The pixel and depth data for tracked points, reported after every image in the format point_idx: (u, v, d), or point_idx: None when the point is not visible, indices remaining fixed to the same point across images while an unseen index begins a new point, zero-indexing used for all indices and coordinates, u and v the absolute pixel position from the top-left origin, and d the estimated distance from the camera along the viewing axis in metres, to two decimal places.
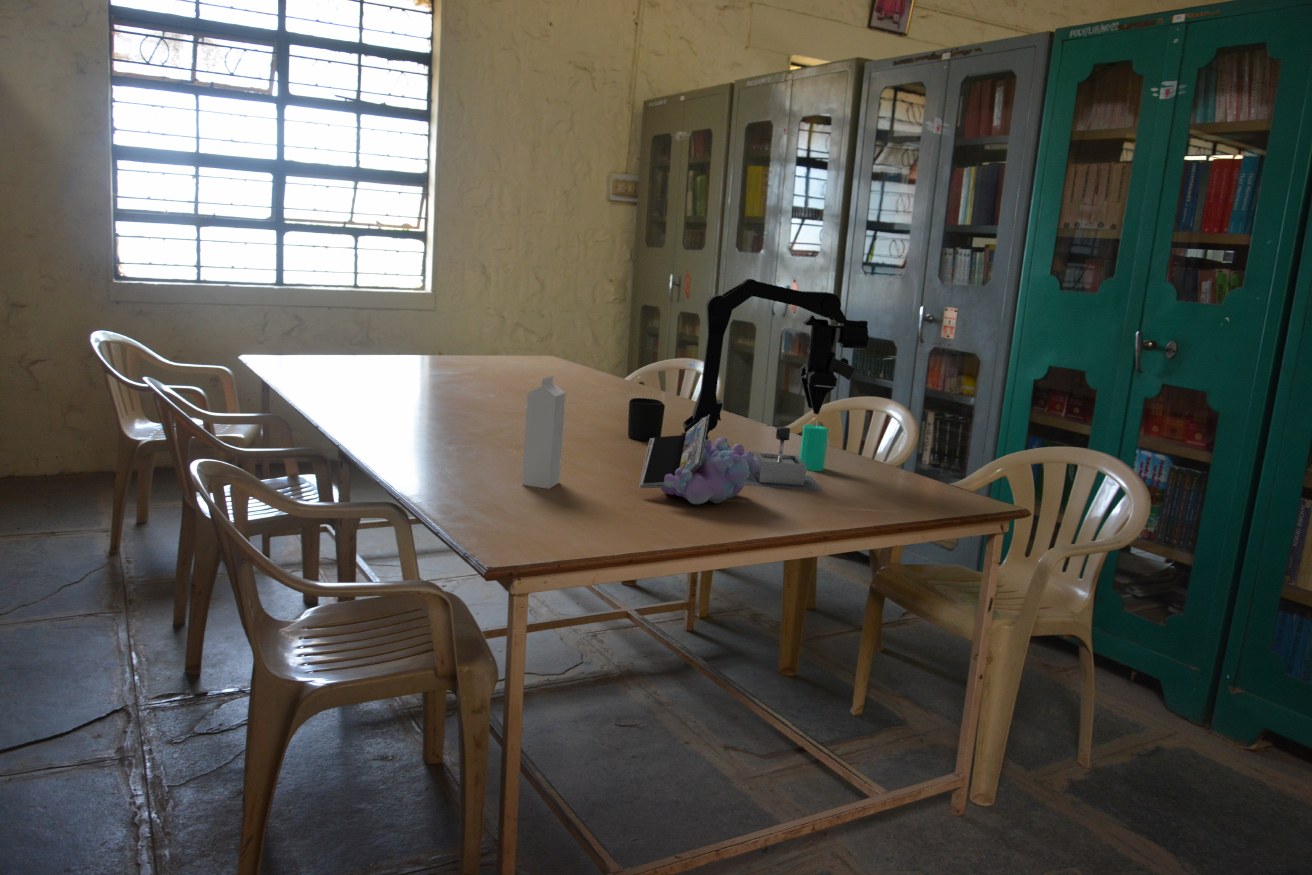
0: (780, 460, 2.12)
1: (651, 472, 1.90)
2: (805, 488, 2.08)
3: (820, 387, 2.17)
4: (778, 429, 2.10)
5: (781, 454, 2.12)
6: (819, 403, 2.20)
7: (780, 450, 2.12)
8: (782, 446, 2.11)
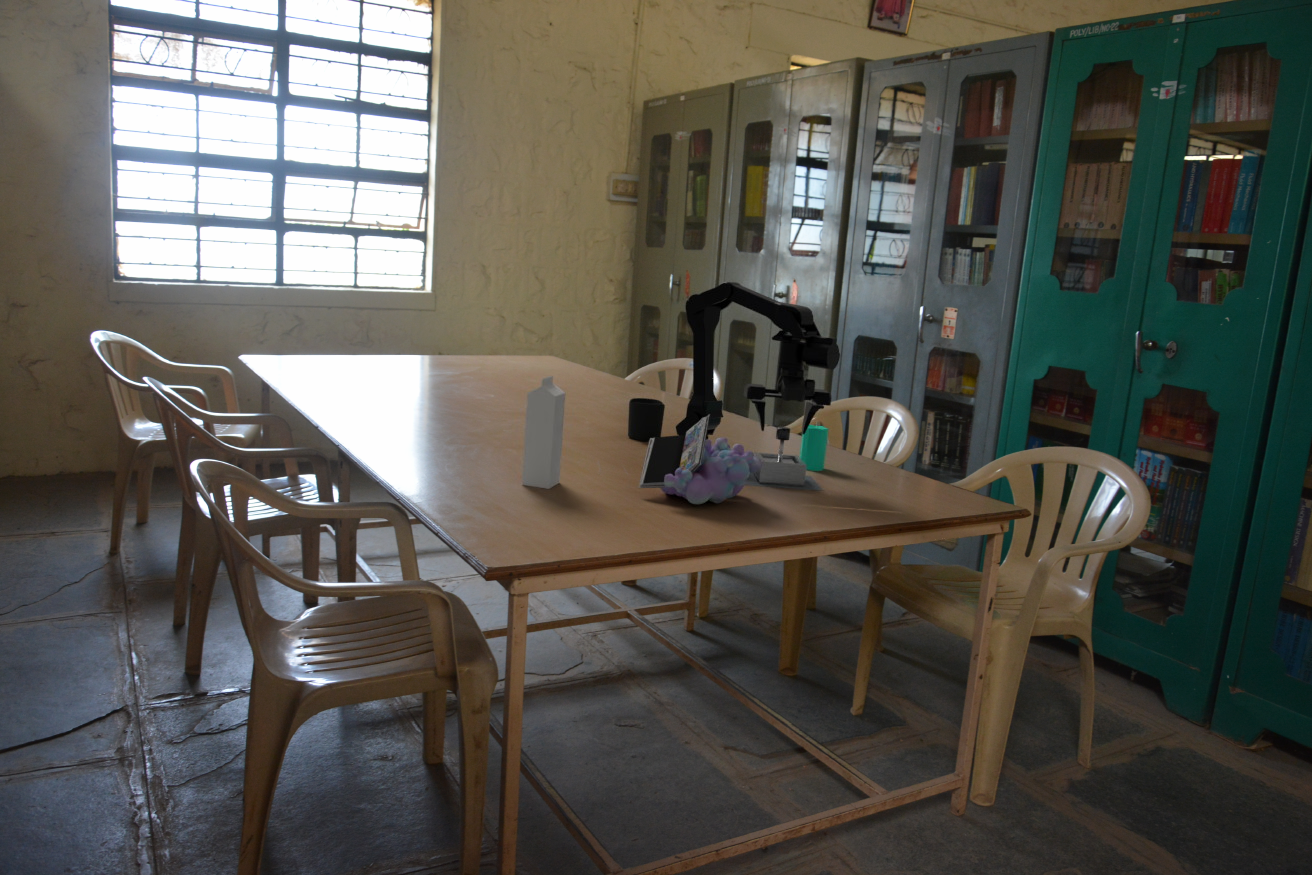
0: (780, 460, 2.12)
1: (651, 472, 1.90)
2: (805, 488, 2.08)
3: (750, 399, 2.10)
4: (778, 429, 2.10)
5: (781, 454, 2.12)
6: None
7: (780, 450, 2.12)
8: (782, 446, 2.11)
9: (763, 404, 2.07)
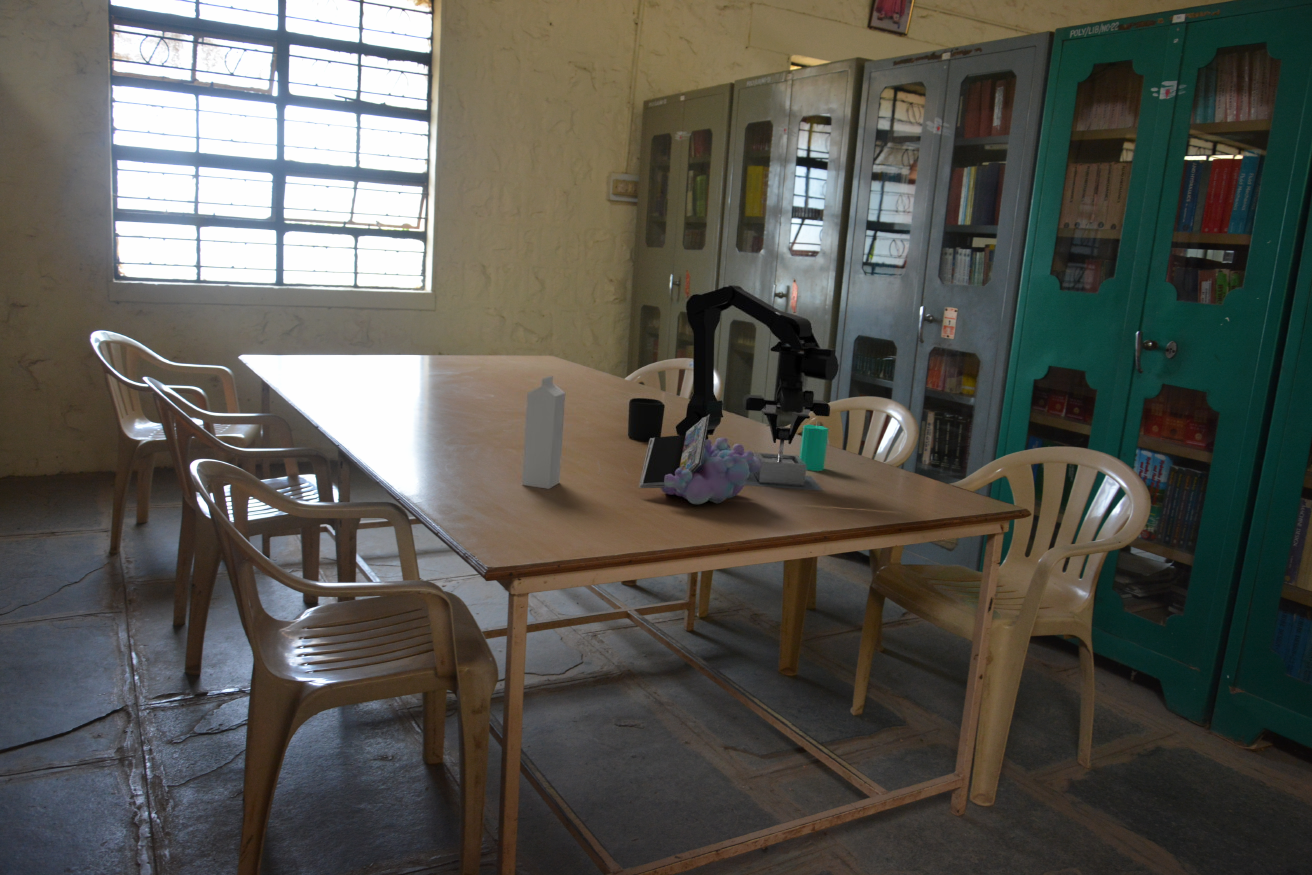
0: (780, 460, 2.12)
1: (651, 472, 1.90)
2: (805, 488, 2.08)
3: (762, 411, 2.10)
4: (778, 429, 2.10)
5: (781, 454, 2.12)
6: None
7: (780, 450, 2.12)
8: (782, 446, 2.11)
9: (775, 416, 2.08)
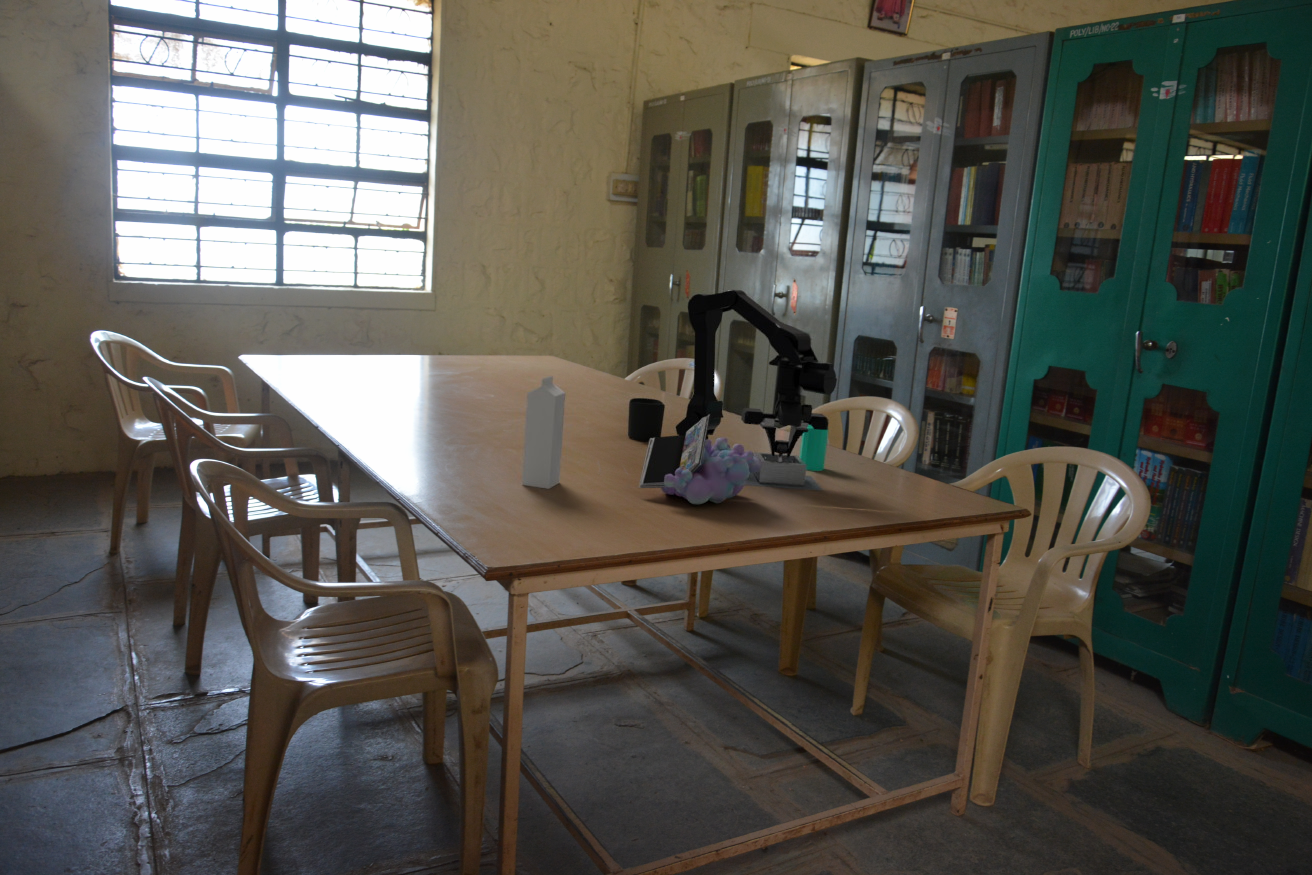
0: None
1: (651, 472, 1.90)
2: (805, 488, 2.08)
3: (761, 425, 2.11)
4: (776, 442, 2.11)
5: None
6: (770, 444, 2.11)
7: None
8: (780, 459, 2.12)
9: (773, 430, 2.08)
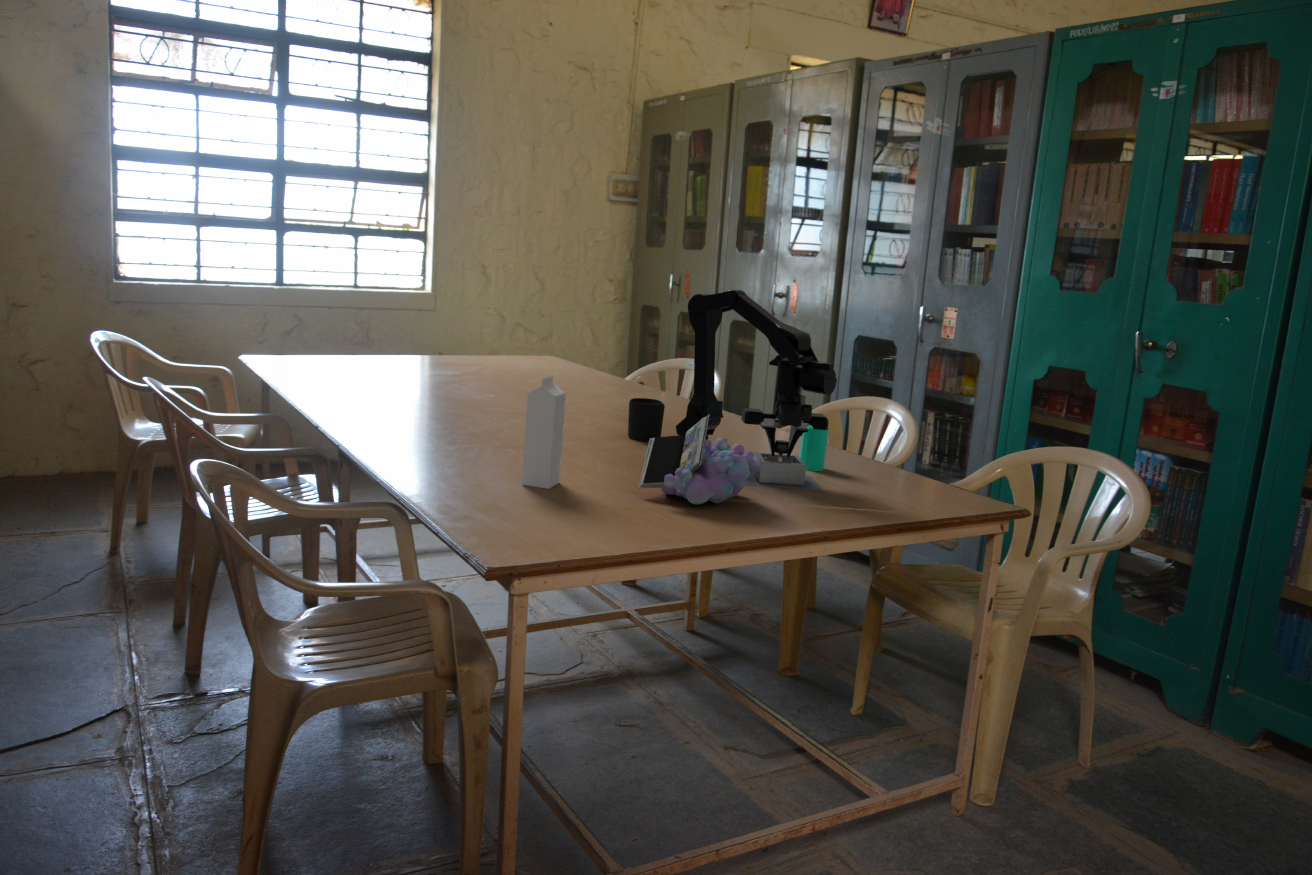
0: None
1: (651, 472, 1.90)
2: (805, 488, 2.08)
3: (760, 425, 2.11)
4: (776, 442, 2.11)
5: None
6: (770, 444, 2.11)
7: None
8: (780, 459, 2.12)
9: (773, 430, 2.08)
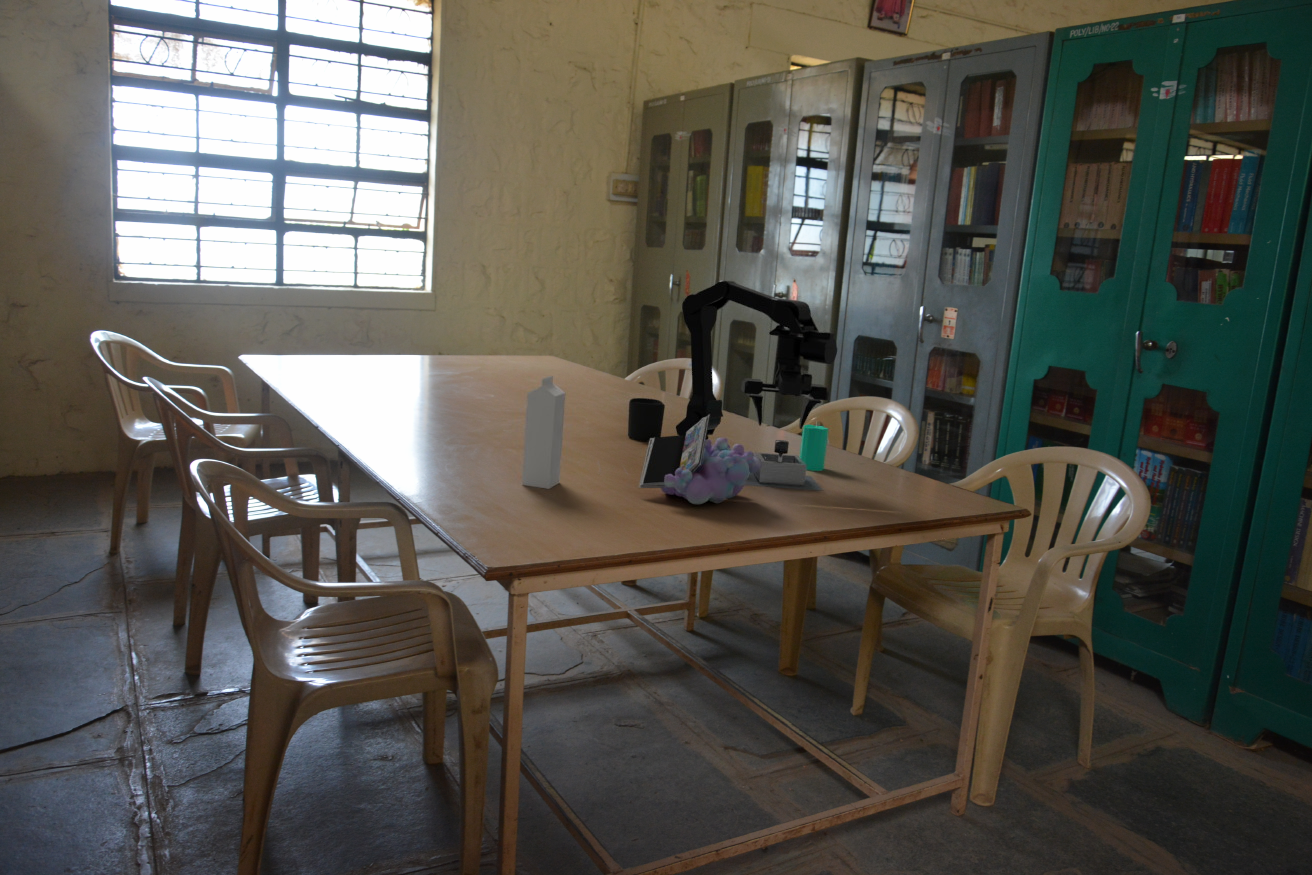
0: None
1: (651, 472, 1.90)
2: (805, 488, 2.08)
3: (748, 394, 2.11)
4: (776, 442, 2.11)
5: None
6: (757, 413, 2.11)
7: None
8: (780, 459, 2.12)
9: (760, 398, 2.08)
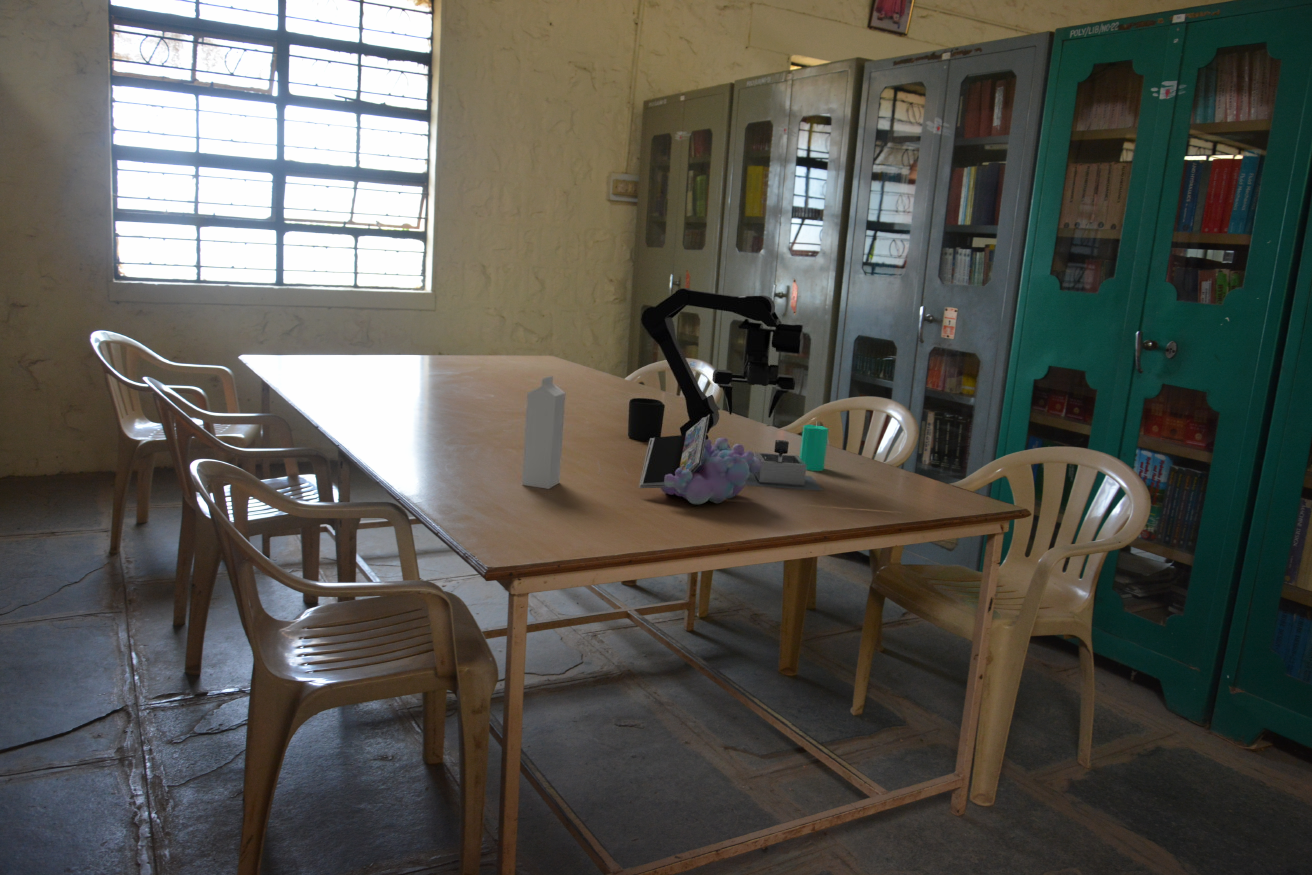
0: None
1: (651, 472, 1.90)
2: (805, 488, 2.08)
3: (718, 384, 2.21)
4: (776, 442, 2.11)
5: None
6: (728, 403, 2.21)
7: None
8: (780, 459, 2.12)
9: (730, 389, 2.18)
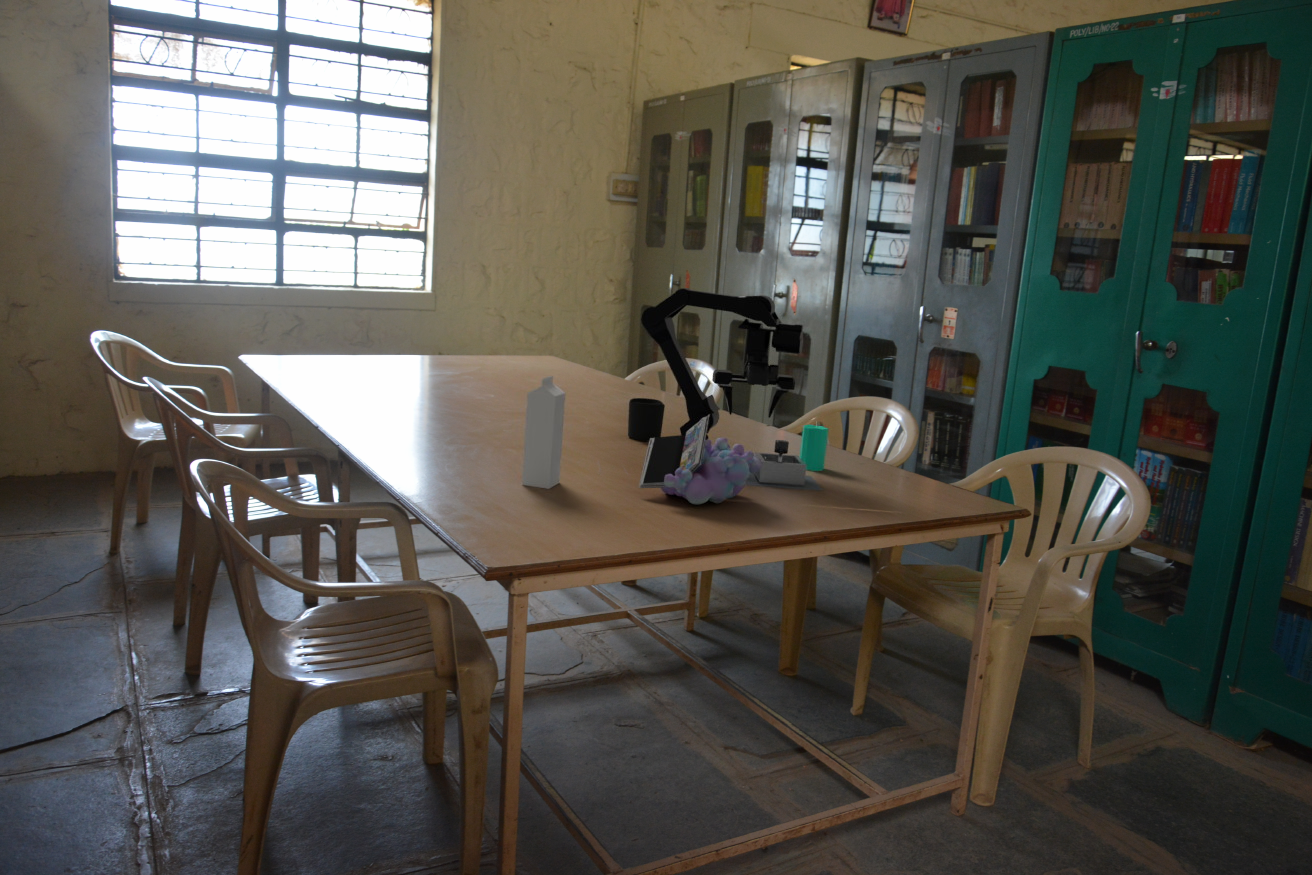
0: None
1: (651, 472, 1.90)
2: (805, 488, 2.08)
3: (718, 384, 2.21)
4: (776, 442, 2.11)
5: None
6: (728, 403, 2.21)
7: None
8: (780, 459, 2.12)
9: (730, 389, 2.18)
